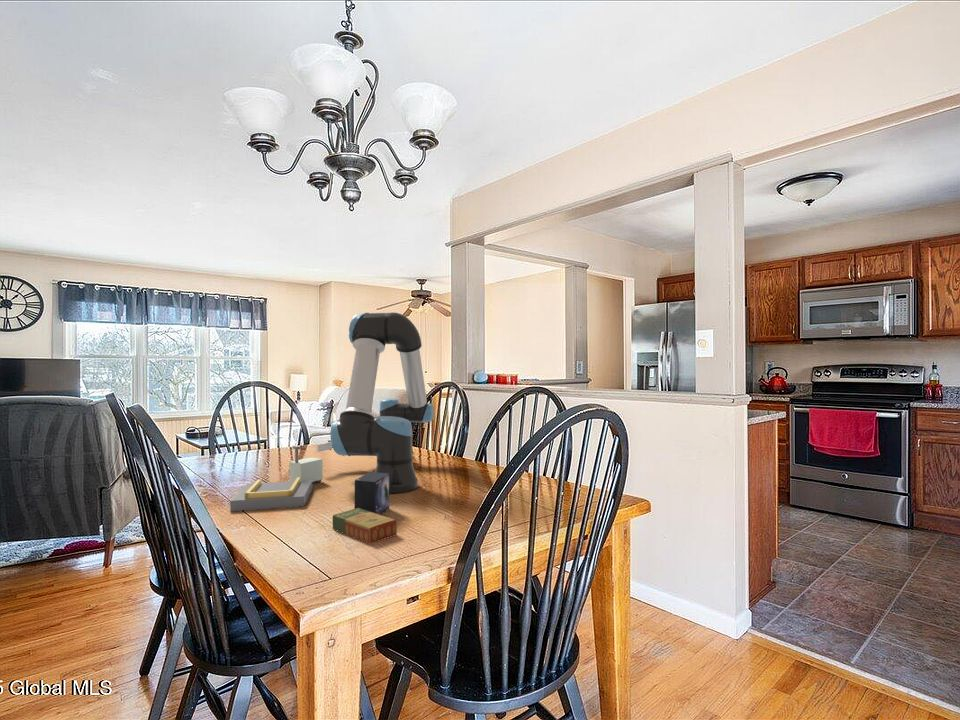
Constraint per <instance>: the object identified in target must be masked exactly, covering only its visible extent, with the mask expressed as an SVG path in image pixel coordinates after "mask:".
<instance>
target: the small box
mask: <svg viewBox="0 0 960 720" xmlns="http://www.w3.org/2000/svg"><path fill="white" fill-rule="evenodd" d="M353 495H354V509H356V508H361V509H364V510H367V511H370V512H373V513H376V514H380V515H383V514H384V513H385V512H386V510H387V509H388V510H390V493H389V473H377V472H375V471H374V472H373V471H369V472H368V473H366V474H364V475H362V476H360V477H358V478H356V479H354V494H353ZM388 510H387V511H388ZM383 512H384V513H383ZM382 513H383V514H382Z"/></svg>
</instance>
